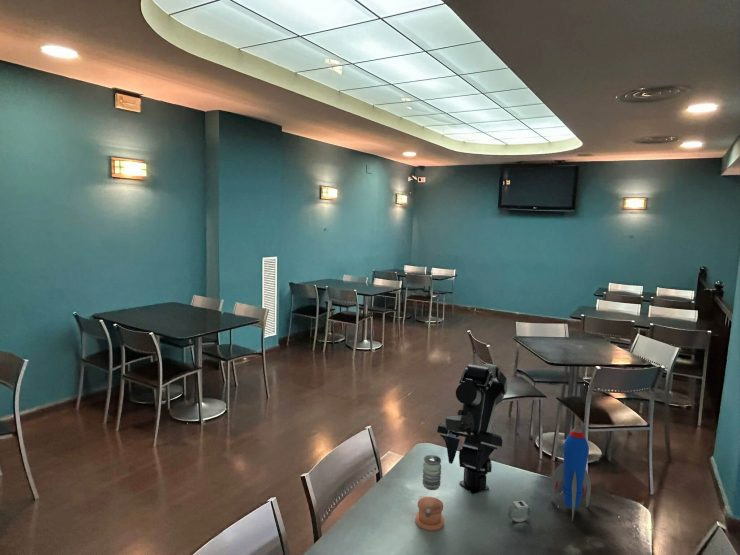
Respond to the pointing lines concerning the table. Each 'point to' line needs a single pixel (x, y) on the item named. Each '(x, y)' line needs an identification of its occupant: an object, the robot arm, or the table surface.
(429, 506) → the housing
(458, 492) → the table surface
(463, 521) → the table surface
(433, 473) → the grey ribbed cylinder
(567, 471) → the toy rocket
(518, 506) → the wristwatch
